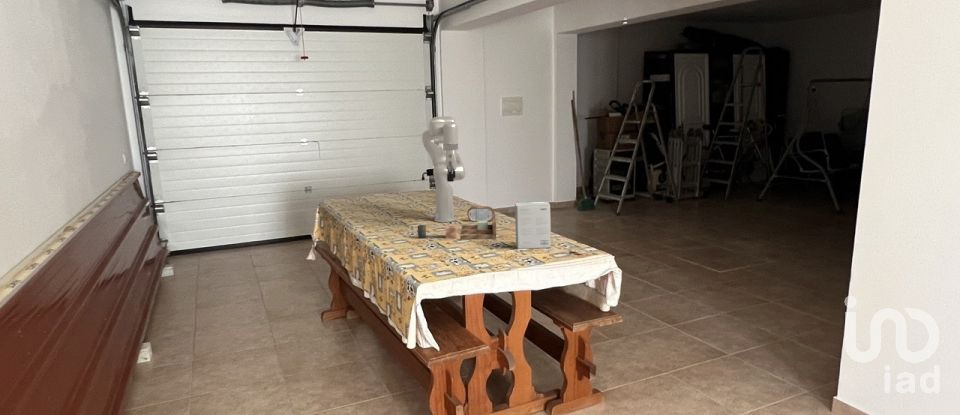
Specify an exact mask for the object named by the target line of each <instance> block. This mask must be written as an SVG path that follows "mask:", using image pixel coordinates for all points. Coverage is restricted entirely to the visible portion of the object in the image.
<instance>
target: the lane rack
mask: <svg viewBox="0 0 960 415" xmlns="http://www.w3.org/2000/svg"><path fill="white" fill-rule="evenodd" d="M491 221H492V222H491V223H492V224H488V229H483V230H478V224H465V225H461V230H460V235H459V240H460V241H461V240H462V241H463V240H467V241H468V240H496V239H497V220H496V212H495V213H492V220H491ZM490 228H492V229H490Z"/></svg>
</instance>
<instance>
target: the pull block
mask: <svg viewBox="0 0 960 415" xmlns="http://www.w3.org/2000/svg"><path fill="white" fill-rule="evenodd" d="M457 233H458V232H457V225H446V226H445V235H442V234H441V235H439V234H437V235H427V225H425V224H419V225H417V238H418V239H430V238H431V239H432V238H433V239H434V238H445V239H457V235H458V234H457Z"/></svg>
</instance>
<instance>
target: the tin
mask: <svg viewBox="0 0 960 415" xmlns="http://www.w3.org/2000/svg"><path fill="white" fill-rule="evenodd" d="M492 213H495V214H496V212H495V211H494V208H493V207H491V206H488V205H487V206H485V205H483V206H482V205H475V206H474V205H473V206H471V207H469V209H467V214H466V216H467V218H468V219H469V221H471V222H473V223H474V222H475V223H476V222H477V223H478V221H488V222H491V221H492Z"/></svg>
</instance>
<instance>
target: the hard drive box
mask: <svg viewBox="0 0 960 415" xmlns="http://www.w3.org/2000/svg"><path fill="white" fill-rule="evenodd" d="M514 212H515V213H514V216H515V218H514V219H515V220H514V221H515V246H516V249H519V250H522V249H524V250H525V249H526V250H527V249H546V248H548V249H549V248H551V247H552V230H551V228H552V226H551V224H552V223H551V222H552V221H551V219H552V218H551V204H550V203H549V201H537V202H535V201H534V202H532V201H531V202H518V203H517V202H516V203H514Z"/></svg>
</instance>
